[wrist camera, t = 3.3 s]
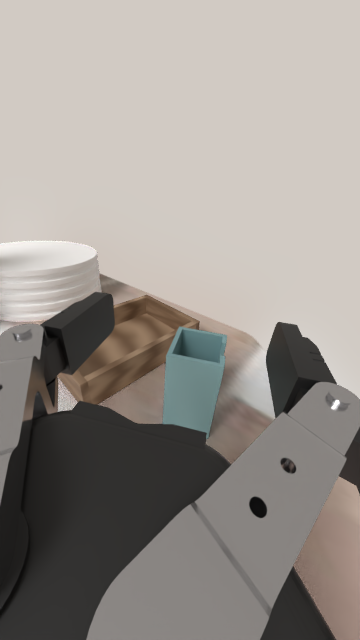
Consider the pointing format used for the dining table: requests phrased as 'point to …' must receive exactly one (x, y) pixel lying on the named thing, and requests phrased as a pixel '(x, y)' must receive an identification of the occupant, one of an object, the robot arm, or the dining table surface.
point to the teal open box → (193, 378)
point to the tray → (128, 349)
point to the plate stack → (45, 278)
